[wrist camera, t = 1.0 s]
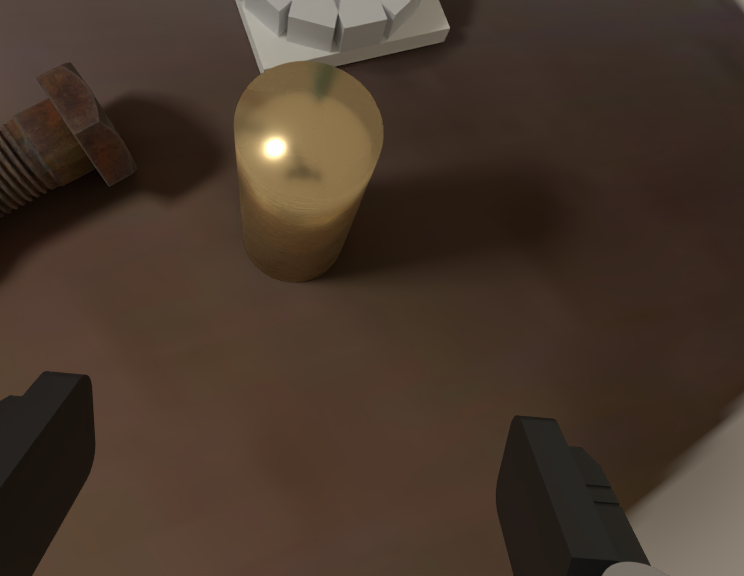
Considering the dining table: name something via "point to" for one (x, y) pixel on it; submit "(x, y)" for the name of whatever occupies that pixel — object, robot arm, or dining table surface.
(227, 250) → the dining table surface
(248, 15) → the seat block
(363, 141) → the cylinder
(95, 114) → the bolt
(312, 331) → the dining table surface
